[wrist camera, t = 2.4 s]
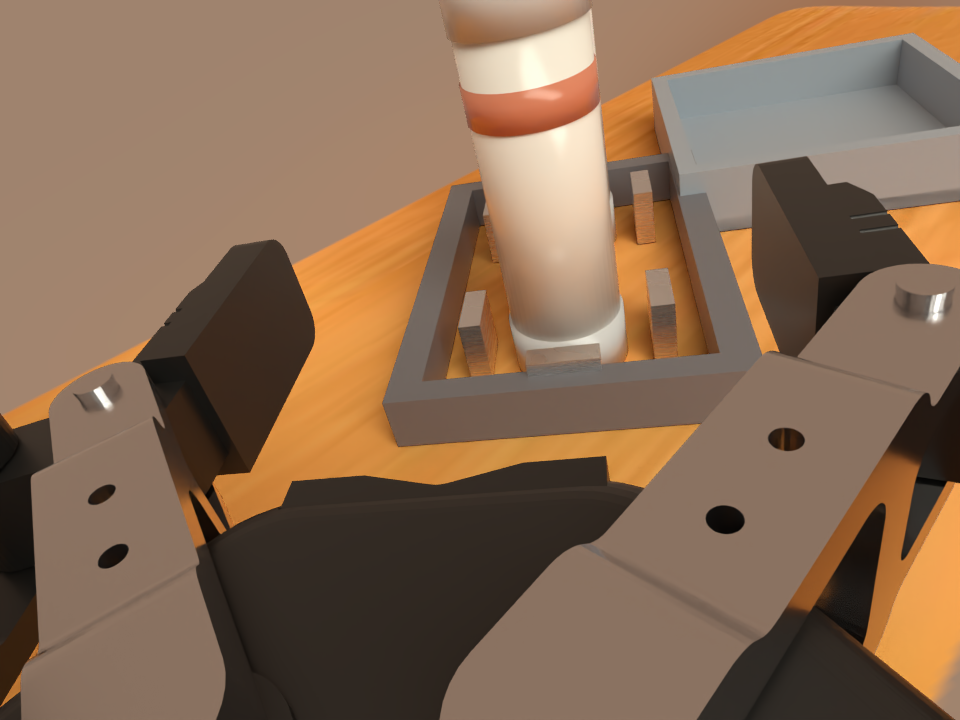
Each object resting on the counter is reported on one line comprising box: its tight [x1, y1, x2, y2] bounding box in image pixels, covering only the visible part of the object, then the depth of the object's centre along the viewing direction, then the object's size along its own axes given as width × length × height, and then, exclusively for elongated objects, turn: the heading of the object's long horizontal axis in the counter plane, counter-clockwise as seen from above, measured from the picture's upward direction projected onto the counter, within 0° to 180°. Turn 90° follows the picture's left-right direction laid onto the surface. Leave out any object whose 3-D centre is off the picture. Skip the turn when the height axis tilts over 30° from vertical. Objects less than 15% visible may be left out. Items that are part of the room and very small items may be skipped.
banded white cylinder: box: [439, 0, 628, 372], centre depth 23 cm, size 4×4×14 cm
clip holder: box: [382, 150, 762, 447], centre depth 30 cm, size 12×18×2 cm
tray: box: [652, 33, 960, 231], centre depth 36 cm, size 14×14×3 cm
